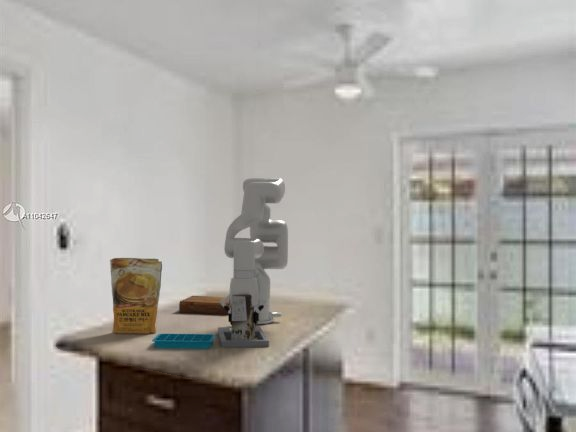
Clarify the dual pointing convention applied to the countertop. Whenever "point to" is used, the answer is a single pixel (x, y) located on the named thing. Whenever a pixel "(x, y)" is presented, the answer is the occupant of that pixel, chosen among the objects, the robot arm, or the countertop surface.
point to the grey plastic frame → (227, 332)
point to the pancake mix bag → (135, 294)
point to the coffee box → (242, 318)
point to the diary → (203, 305)
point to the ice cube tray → (184, 341)
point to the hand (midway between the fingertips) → (243, 323)
